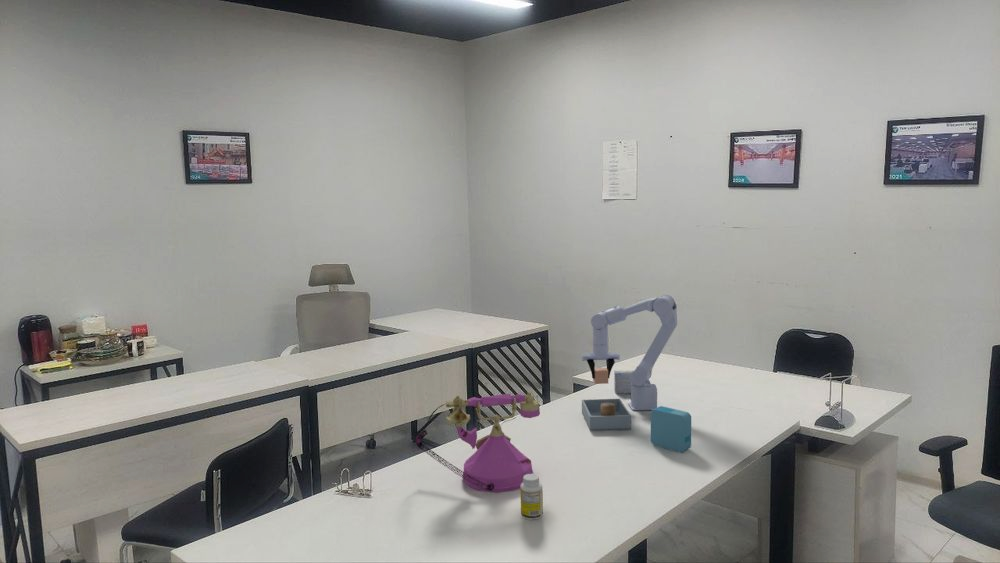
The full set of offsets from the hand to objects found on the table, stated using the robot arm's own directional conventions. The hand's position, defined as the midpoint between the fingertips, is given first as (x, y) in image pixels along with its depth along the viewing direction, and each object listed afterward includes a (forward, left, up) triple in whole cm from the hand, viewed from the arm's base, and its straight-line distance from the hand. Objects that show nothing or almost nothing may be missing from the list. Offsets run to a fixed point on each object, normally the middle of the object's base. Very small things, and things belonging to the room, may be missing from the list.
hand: (600, 378), depth 249 cm
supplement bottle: (+33, +89, -10) cm, 95 cm away
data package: (-14, +47, -10) cm, 50 cm away
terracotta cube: (0, 0, -2) cm, 2 cm away
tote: (+2, +21, -10) cm, 23 cm away
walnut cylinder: (+2, +26, -9) cm, 28 cm away
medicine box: (-12, -13, -10) cm, 20 cm away
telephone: (+46, +67, -10) cm, 82 cm away
